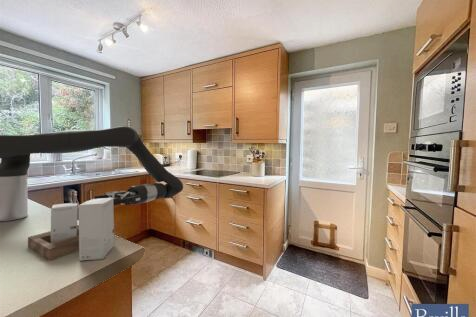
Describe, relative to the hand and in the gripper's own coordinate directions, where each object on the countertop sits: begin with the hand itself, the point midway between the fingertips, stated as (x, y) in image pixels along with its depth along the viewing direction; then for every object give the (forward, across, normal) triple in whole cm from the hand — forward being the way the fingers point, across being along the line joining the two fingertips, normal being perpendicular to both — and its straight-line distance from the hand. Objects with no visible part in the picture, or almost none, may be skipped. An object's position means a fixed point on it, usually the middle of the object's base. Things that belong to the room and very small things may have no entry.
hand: (101, 201), depth 71 cm
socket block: (+11, +1, +11) cm, 15 cm away
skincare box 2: (+8, +14, +11) cm, 20 cm away
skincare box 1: (+11, +1, +11) cm, 15 cm away
